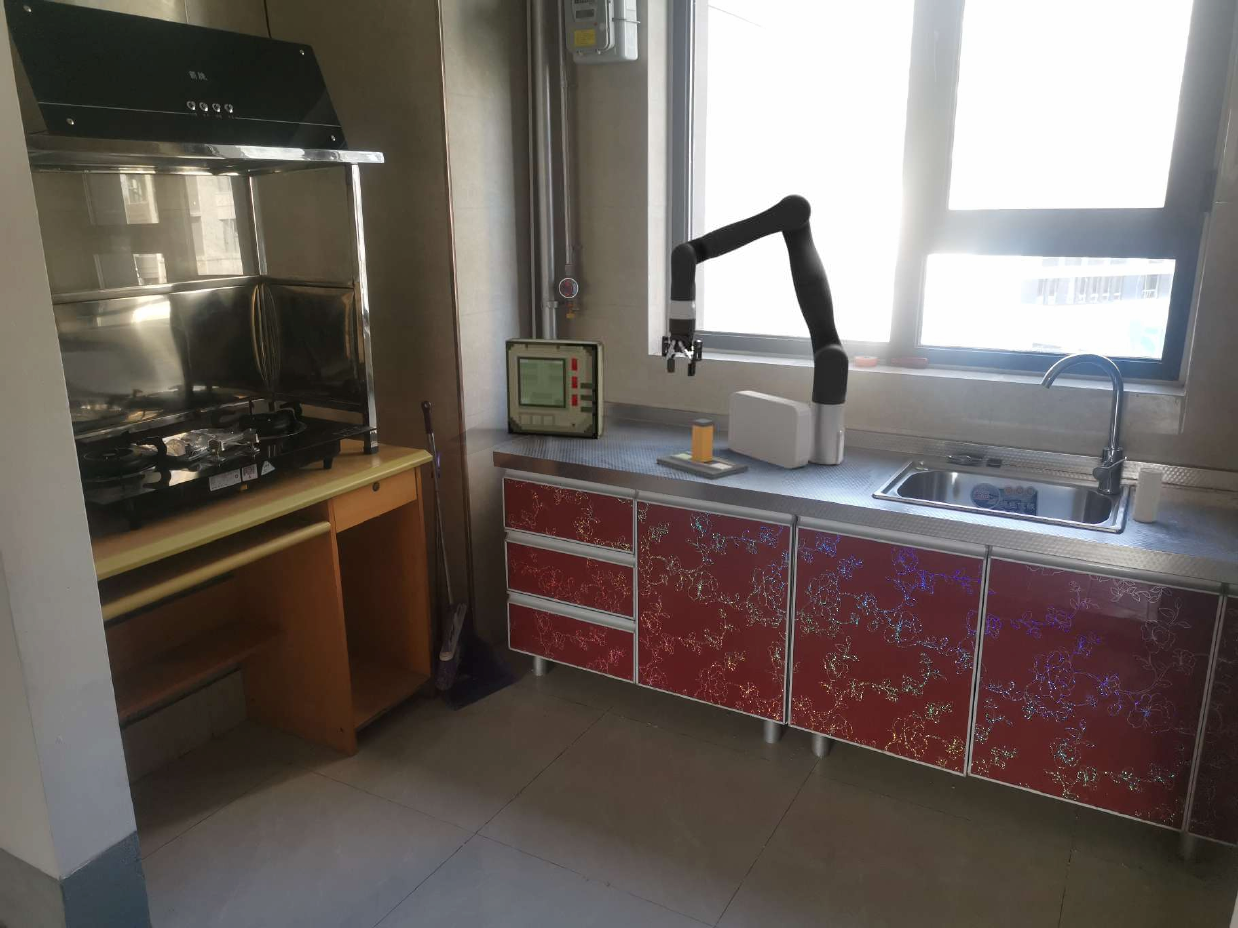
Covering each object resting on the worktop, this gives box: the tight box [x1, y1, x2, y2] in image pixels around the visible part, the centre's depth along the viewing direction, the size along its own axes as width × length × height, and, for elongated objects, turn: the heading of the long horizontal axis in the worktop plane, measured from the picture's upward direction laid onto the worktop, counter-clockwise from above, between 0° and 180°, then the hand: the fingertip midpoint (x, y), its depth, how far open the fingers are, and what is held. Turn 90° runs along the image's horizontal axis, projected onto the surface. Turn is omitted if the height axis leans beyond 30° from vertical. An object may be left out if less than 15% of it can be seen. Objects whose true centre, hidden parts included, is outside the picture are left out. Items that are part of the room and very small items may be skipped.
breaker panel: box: [656, 449, 749, 480], centre depth 255 cm, size 22×14×2 cm, turn 41°
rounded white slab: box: [727, 390, 811, 470], centre depth 263 cm, size 29×8×18 cm, turn 33°
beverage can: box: [1131, 467, 1164, 524], centre depth 210 cm, size 5×5×12 cm
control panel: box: [505, 337, 605, 440], centre depth 290 cm, size 30×8×30 cm, turn 76°
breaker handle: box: [691, 418, 715, 463], centre depth 253 cm, size 4×4×11 cm
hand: (680, 374), depth 260 cm, fingers open, 7 cm apart
